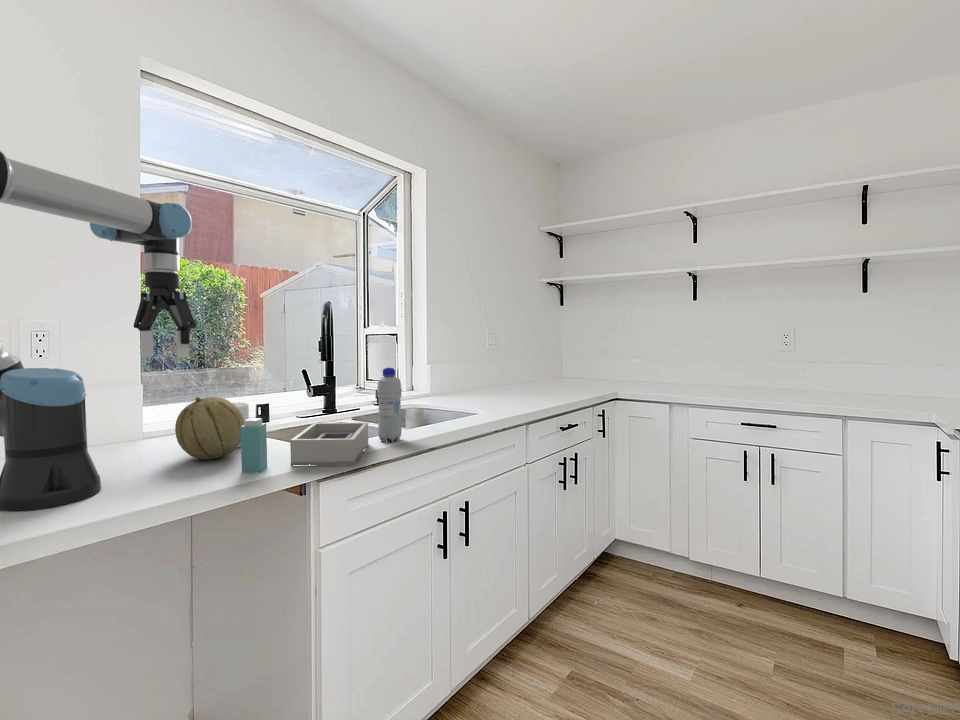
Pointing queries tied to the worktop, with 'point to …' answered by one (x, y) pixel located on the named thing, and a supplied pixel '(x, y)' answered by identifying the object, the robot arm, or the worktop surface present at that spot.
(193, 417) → the cantaloupe
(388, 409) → the bottle
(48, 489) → the robot arm
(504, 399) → the worktop surface
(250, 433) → the block
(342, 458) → the box
